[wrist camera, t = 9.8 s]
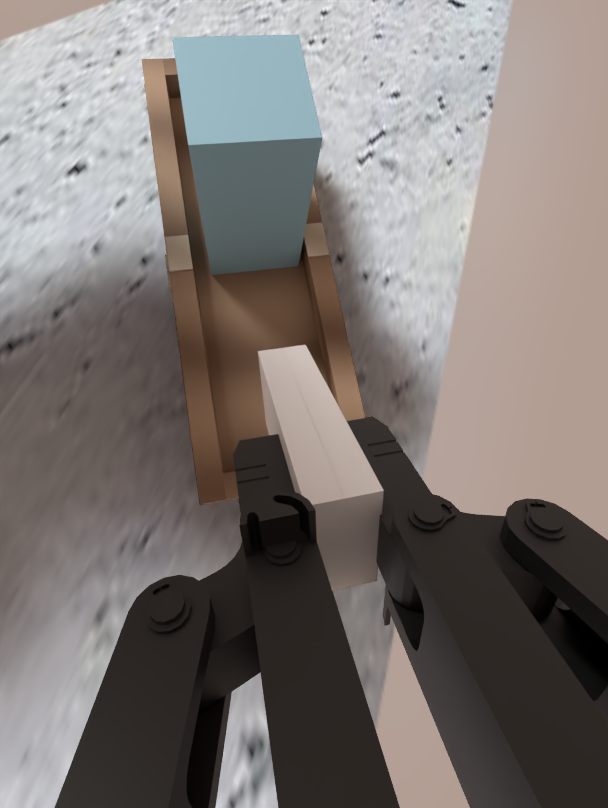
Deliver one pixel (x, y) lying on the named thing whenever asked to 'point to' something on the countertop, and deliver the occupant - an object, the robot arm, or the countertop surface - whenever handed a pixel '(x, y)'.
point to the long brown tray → (236, 308)
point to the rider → (249, 146)
